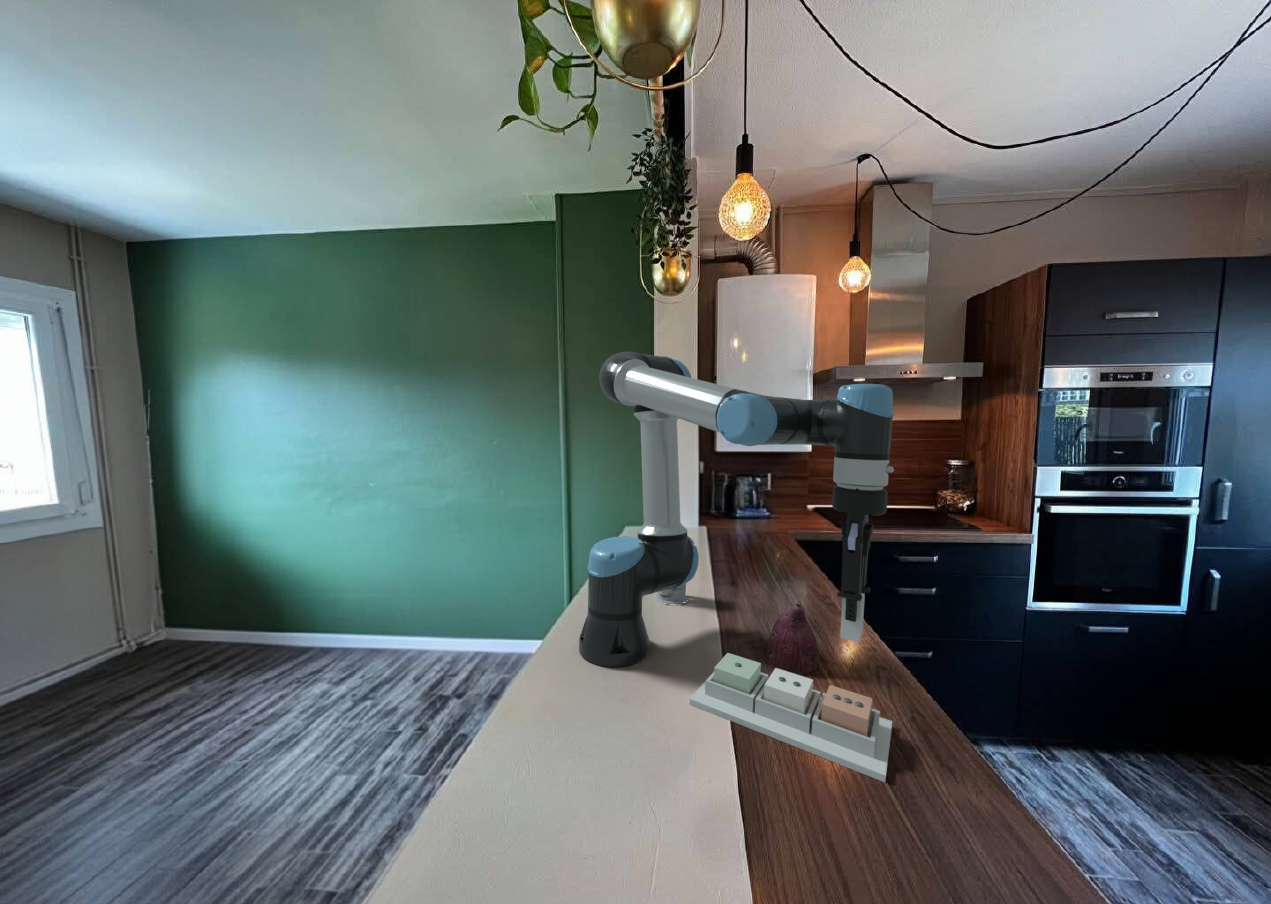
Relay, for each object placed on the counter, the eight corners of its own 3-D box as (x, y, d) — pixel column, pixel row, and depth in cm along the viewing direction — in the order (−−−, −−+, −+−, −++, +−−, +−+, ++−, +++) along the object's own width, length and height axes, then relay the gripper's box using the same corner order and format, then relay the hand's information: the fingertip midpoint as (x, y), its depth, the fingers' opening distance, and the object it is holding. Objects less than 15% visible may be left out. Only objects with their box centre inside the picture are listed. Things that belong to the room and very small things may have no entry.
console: (689, 704, 78) (690, 684, 78) (720, 668, 90) (721, 651, 90) (885, 782, 62) (886, 758, 62) (891, 727, 74) (893, 706, 73)
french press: (651, 592, 130) (653, 507, 129) (690, 591, 132) (693, 507, 130) (656, 605, 121) (659, 514, 119) (698, 605, 122) (701, 514, 120)
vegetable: (818, 690, 89) (837, 629, 84) (765, 677, 91) (780, 616, 86) (811, 653, 99) (828, 596, 94) (763, 641, 101) (777, 585, 96)
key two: (763, 702, 75) (764, 683, 75) (774, 684, 80) (775, 666, 80) (803, 716, 71) (804, 697, 71) (812, 696, 77) (813, 678, 77)
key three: (821, 722, 70) (822, 703, 70) (828, 702, 75) (829, 683, 75) (866, 739, 66) (868, 718, 66) (871, 716, 72) (872, 697, 72)
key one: (713, 683, 80) (714, 666, 80) (727, 668, 85) (727, 651, 85) (748, 696, 76) (749, 678, 76) (760, 679, 82) (761, 662, 81)
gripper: (883, 494, 60) (873, 664, 62) (891, 483, 73) (882, 624, 74) (824, 489, 64) (815, 648, 66) (841, 479, 77) (834, 613, 78)
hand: (851, 635), depth 70 cm, fingers open, 2 cm apart
